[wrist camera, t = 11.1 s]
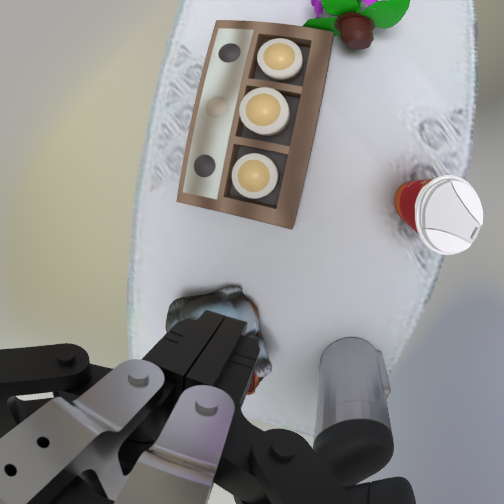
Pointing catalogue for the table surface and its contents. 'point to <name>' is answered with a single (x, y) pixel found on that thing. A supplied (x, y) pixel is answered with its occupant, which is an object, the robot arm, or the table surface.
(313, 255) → the table surface
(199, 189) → the wooden candle tray
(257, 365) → the lucky cat figurine
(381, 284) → the table surface
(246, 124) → the button mid
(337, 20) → the purple flower sprig
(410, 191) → the paper cup
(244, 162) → the button
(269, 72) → the button
